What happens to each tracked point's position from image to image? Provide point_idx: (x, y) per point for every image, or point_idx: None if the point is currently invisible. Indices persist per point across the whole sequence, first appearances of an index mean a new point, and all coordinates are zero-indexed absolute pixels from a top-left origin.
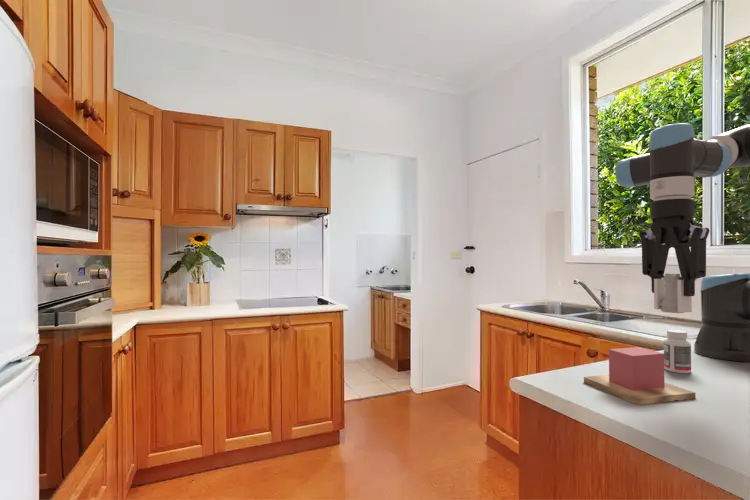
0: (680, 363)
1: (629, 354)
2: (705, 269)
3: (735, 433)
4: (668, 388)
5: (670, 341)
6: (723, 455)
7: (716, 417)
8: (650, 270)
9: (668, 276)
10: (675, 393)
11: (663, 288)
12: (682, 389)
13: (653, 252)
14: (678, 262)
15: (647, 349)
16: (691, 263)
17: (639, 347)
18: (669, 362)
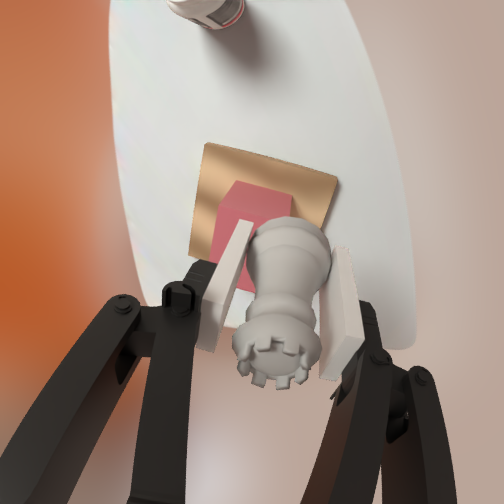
0: (229, 19)
1: (254, 289)
2: (437, 402)
3: (408, 278)
4: (299, 196)
5: (190, 13)
6: (403, 335)
7: (383, 241)
8: (137, 349)
9: (270, 378)
10: (319, 215)
11: (231, 290)
12: (316, 180)
13: (75, 430)
14: (321, 457)
15: (244, 213)
16: (385, 457)
17: (221, 207)
18: (208, 26)
